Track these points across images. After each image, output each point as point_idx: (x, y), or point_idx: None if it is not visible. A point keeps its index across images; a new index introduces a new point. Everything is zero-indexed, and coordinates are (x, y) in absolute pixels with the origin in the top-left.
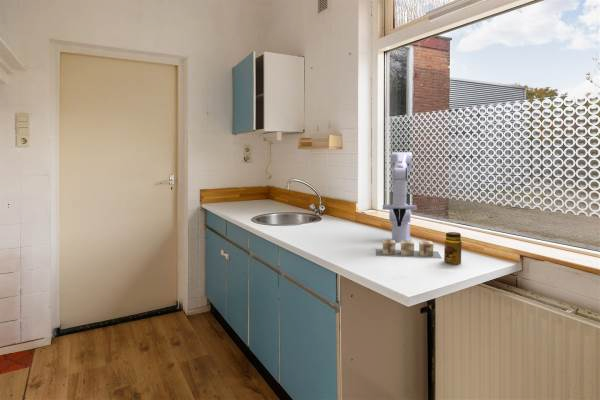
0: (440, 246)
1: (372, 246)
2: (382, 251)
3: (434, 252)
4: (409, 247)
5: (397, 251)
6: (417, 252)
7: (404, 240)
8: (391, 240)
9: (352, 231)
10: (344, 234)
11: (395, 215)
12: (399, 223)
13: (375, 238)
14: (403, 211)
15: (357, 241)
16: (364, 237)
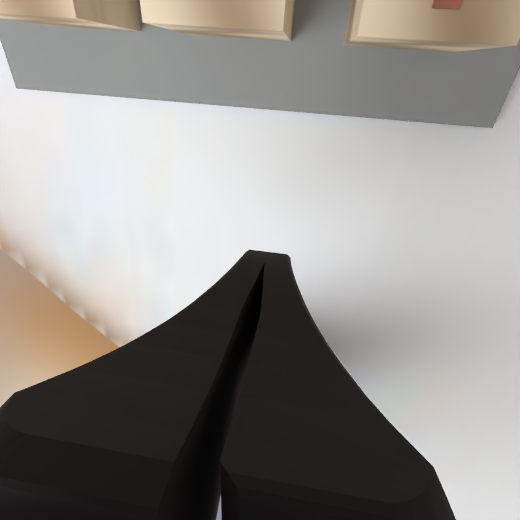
0: (44, 246)
1: (461, 243)
2: None
3: (30, 47)
4: None
5: (317, 52)
6: (153, 31)
7: (241, 29)
8: (410, 8)
9: (446, 489)
10: (515, 462)
11: (348, 381)
12: (261, 267)
13: (373, 395)
14: (22, 455)
15: (511, 354)
16: (428, 414)
